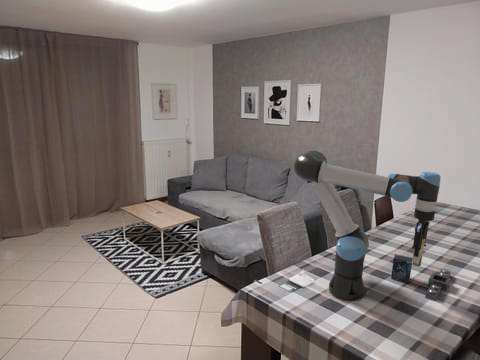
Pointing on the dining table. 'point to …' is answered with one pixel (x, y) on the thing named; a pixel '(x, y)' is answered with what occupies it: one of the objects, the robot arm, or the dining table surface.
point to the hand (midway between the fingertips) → (416, 261)
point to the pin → (421, 253)
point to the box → (401, 268)
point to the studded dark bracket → (438, 284)
